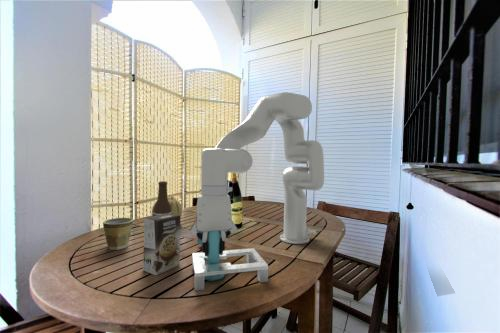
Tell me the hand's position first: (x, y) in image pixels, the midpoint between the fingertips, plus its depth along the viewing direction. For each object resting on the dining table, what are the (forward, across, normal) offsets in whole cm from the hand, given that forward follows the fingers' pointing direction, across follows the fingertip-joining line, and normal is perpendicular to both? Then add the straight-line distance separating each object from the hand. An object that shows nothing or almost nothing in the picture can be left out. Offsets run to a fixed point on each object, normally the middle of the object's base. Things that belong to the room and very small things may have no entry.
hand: (213, 253), depth 71 cm
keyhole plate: (+7, -4, 0) cm, 8 cm away
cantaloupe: (+7, +16, -59) cm, 61 cm away
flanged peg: (+6, 0, 0) cm, 6 cm away
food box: (+7, +15, -9) cm, 18 cm away
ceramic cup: (+7, +33, -33) cm, 47 cm away
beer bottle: (+7, +17, -40) cm, 44 cm away
